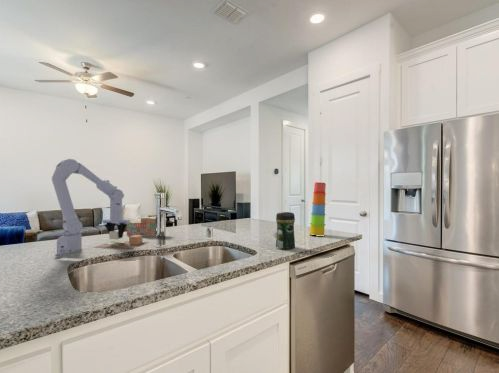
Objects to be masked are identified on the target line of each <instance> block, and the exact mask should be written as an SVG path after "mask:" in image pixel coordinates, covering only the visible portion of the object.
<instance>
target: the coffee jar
mask: <svg viewBox="0 0 499 373" xmlns="http://www.w3.org/2000/svg"><path fill="white" fill-rule="evenodd" d="M275 217H276V218H275V221H276V230H277V231H276V240H275V247H276V248H277V247H278V248H281V249H280V250H284V249H286V250H290V249H289V248H291V249H294V248H295V246H296V240H295V239H296V238H295V229H294V228H295V220H296V219H295V218H296V217H295V214H294V212H289V211H285V212H284V211H282V212H278V213H276V216H275ZM293 247H294V248H293ZM278 248H277V249H278Z"/></svg>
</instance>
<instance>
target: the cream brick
mask: <svg viewBox="0 0 499 373" xmlns="http://www.w3.org/2000/svg"><path fill="white" fill-rule="evenodd" d="M108 236H109V238H108V239H109V240H120V239H123V238H124V235H123V236H122V237H121V238H119V236H118V229H114V230H113V231H110V232H108Z"/></svg>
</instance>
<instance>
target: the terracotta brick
mask: <svg viewBox="0 0 499 373" xmlns="http://www.w3.org/2000/svg"><path fill="white" fill-rule="evenodd" d="M128 240H129V244H136V245H138V244H140V243H142V242H143V236H142V235H133V236H129V239H128Z"/></svg>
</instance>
